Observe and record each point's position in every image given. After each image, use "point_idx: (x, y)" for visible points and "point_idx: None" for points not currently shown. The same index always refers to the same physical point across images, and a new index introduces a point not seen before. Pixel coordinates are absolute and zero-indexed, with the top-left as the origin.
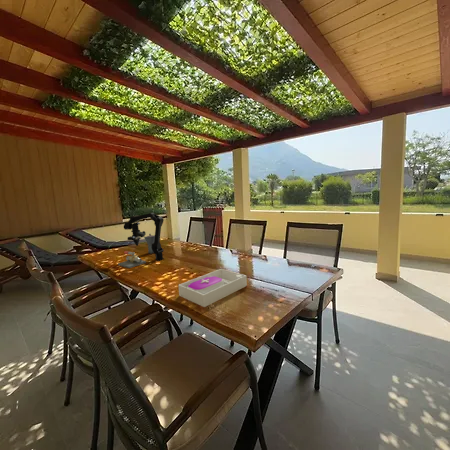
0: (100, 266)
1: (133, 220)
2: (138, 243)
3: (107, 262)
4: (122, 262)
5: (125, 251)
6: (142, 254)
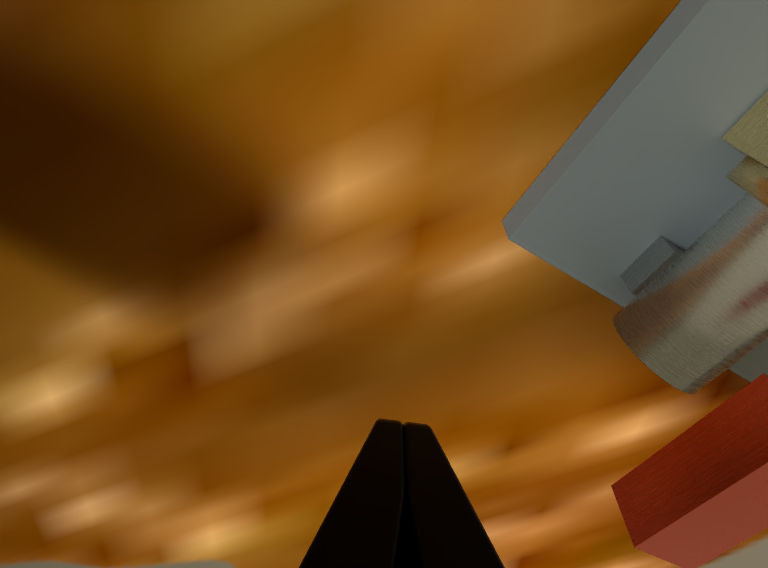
0: (715, 560)
1: None
2: (328, 512)
3: (526, 559)
4: (756, 360)
5: (725, 540)
6: (4, 245)
